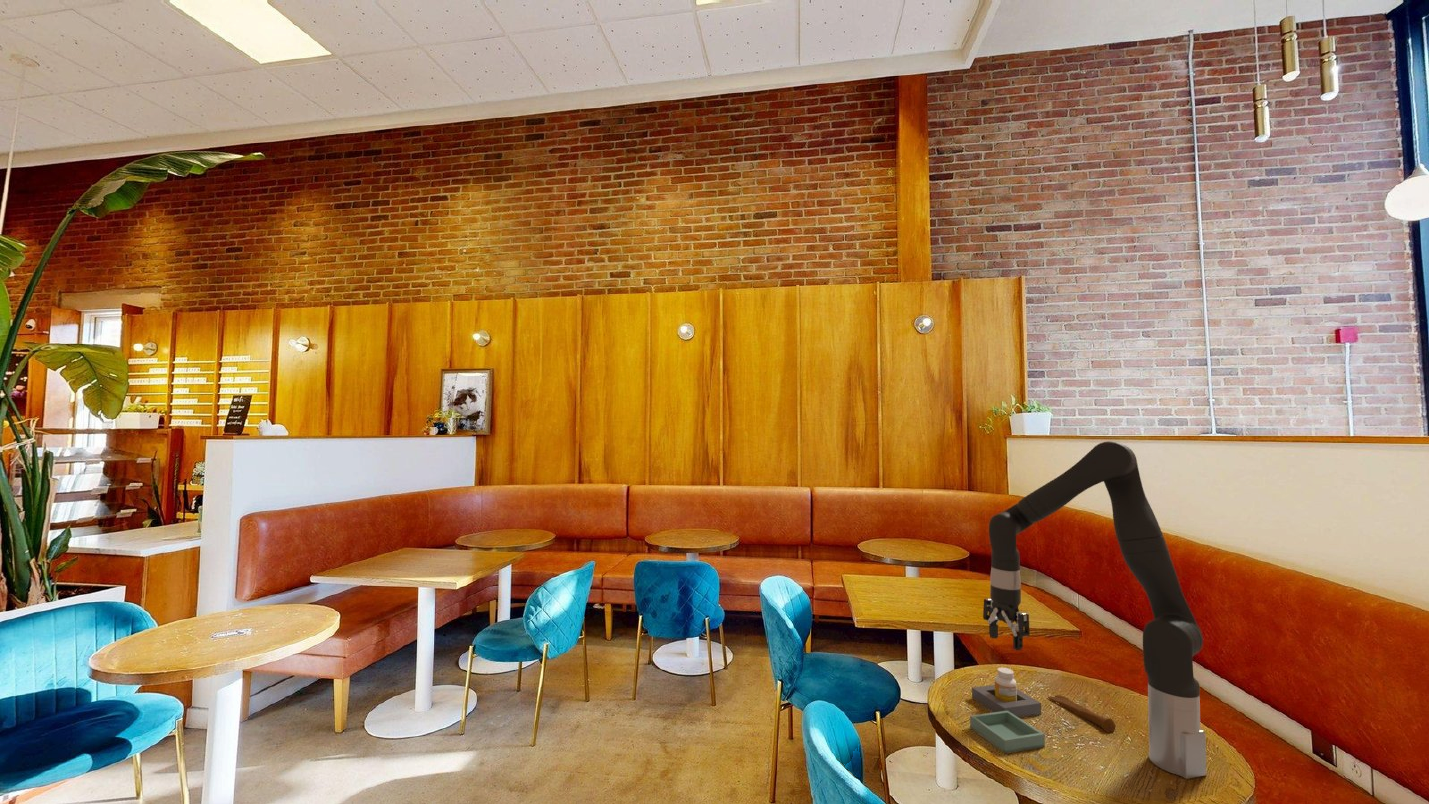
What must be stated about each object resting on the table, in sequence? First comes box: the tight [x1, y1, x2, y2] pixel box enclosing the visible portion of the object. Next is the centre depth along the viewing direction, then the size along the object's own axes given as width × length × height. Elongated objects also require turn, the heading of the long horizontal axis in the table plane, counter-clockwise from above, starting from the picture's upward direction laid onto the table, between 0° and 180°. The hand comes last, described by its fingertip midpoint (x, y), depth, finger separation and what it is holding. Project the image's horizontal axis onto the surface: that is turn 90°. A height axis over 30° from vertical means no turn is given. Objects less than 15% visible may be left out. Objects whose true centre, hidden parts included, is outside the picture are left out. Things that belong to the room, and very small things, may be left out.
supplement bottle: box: [994, 667, 1018, 702], centre depth 154 cm, size 5×5×10 cm
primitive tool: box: [1047, 694, 1117, 733], centre depth 150 cm, size 19×6×4 cm, turn 13°
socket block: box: [971, 684, 1042, 719], centre depth 153 cm, size 12×12×3 cm
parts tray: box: [969, 711, 1046, 754], centre depth 138 cm, size 12×12×3 cm
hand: (1005, 643), depth 154 cm, fingers open, 8 cm apart
